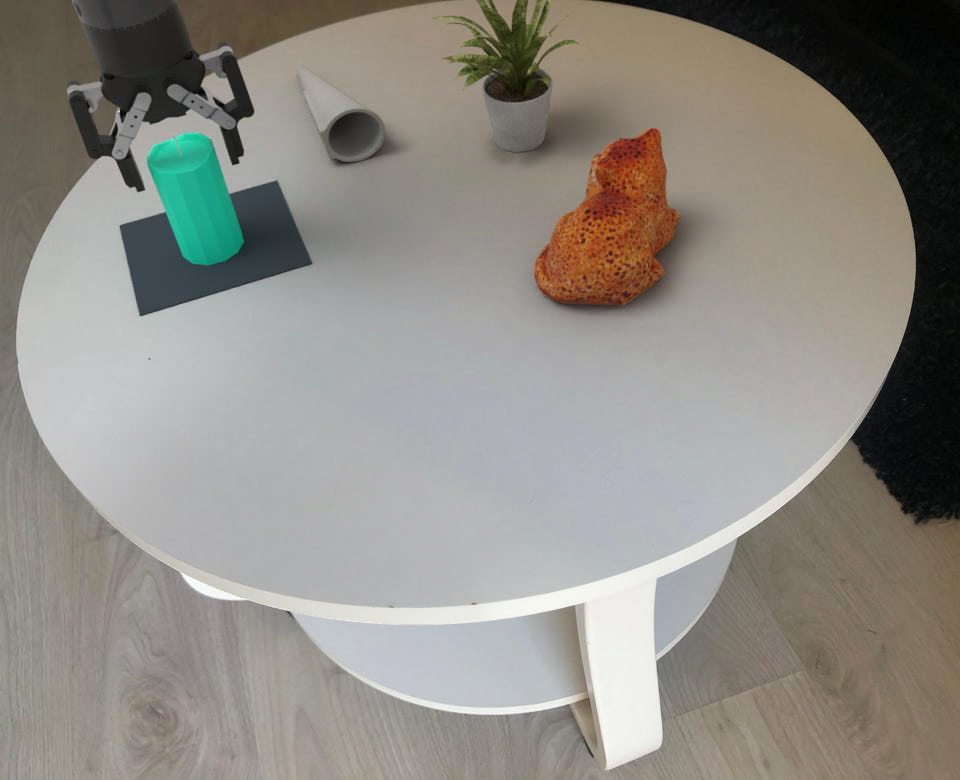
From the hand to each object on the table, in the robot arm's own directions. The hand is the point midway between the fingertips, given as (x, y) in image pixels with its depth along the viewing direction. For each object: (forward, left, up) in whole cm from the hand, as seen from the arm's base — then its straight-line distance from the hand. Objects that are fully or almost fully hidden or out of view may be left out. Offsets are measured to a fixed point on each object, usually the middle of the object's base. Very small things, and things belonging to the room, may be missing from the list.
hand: (187, 173), depth 89 cm
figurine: (+33, -18, -8) cm, 39 cm away
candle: (0, 0, -8) cm, 8 cm away
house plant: (+33, +4, -8) cm, 34 cm away
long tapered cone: (+17, +16, -8) cm, 25 cm away
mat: (0, 0, -8) cm, 8 cm away
